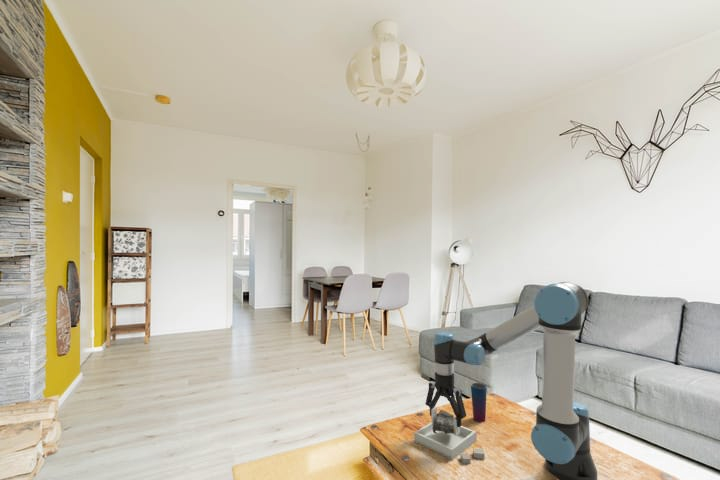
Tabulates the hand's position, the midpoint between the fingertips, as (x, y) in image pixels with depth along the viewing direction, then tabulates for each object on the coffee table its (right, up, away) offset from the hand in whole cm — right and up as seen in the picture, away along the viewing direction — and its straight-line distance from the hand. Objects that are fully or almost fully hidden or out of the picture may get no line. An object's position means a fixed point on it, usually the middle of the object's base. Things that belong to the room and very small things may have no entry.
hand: (445, 429), depth 136 cm
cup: (+19, -5, +17) cm, 26 cm away
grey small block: (+10, -4, -10) cm, 15 cm away
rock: (0, -1, +1) cm, 2 cm away
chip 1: (+4, -4, -13) cm, 14 cm away
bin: (0, -5, 0) cm, 5 cm away
